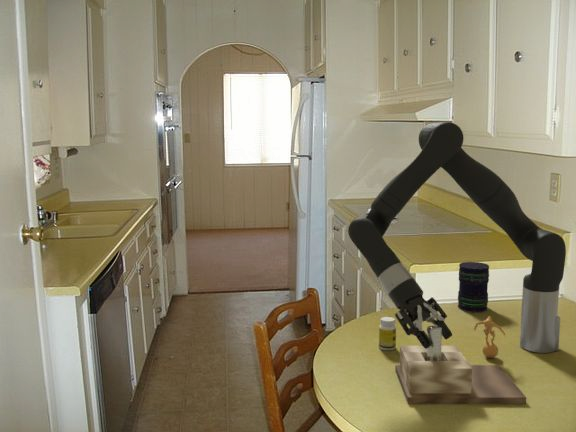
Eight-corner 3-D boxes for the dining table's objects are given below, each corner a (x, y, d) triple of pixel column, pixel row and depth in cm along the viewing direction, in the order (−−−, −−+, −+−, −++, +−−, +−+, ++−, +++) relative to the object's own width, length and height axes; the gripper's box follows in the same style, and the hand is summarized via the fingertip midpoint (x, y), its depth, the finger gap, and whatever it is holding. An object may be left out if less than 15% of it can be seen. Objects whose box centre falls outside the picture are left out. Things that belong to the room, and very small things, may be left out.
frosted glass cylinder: (438, 376, 143) (439, 325, 141) (442, 383, 140) (443, 330, 138) (424, 377, 143) (425, 325, 141) (427, 383, 140) (428, 330, 138)
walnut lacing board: (499, 370, 150) (499, 365, 150) (526, 403, 132) (526, 397, 132) (395, 370, 151) (395, 365, 151) (407, 403, 133) (407, 397, 133)
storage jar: (452, 304, 205) (453, 262, 203) (477, 302, 208) (479, 261, 205) (467, 313, 196) (468, 269, 193) (493, 311, 198) (495, 267, 196)
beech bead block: (455, 368, 148) (456, 345, 147) (471, 393, 134) (472, 368, 134) (399, 368, 149) (399, 345, 148) (409, 393, 135) (410, 368, 134)
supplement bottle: (395, 351, 164) (396, 322, 163) (378, 350, 165) (378, 321, 164) (395, 345, 169) (396, 316, 167) (379, 344, 170) (379, 315, 168)
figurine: (508, 358, 158) (510, 315, 156) (501, 365, 153) (503, 321, 151) (477, 351, 163) (478, 309, 161) (469, 358, 158) (471, 315, 156)
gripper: (391, 282, 138) (432, 342, 132) (426, 272, 148) (465, 326, 142) (373, 300, 143) (412, 358, 137) (408, 288, 153) (445, 342, 146)
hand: (439, 342), depth 139 cm, fingers open, 8 cm apart
